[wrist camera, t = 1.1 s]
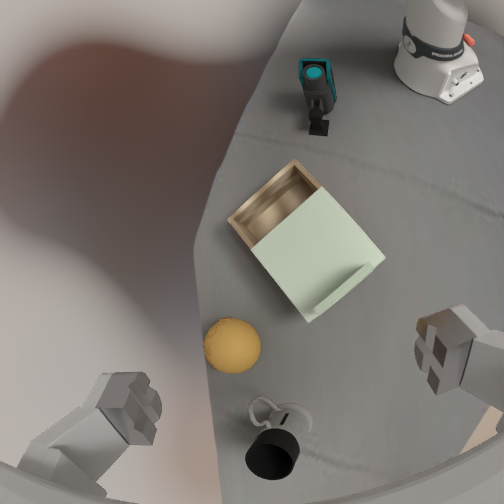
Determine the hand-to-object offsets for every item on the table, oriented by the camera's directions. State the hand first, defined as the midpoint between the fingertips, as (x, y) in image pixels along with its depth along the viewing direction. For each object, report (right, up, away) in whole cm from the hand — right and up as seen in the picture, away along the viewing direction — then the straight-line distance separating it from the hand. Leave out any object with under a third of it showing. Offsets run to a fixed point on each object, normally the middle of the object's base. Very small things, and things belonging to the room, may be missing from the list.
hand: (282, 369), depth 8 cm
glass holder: (+5, -27, +43) cm, 51 cm away
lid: (+9, +3, +36) cm, 37 cm away
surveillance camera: (+13, +31, +47) cm, 57 cm away
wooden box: (+7, +8, +46) cm, 47 cm away
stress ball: (-3, -13, +47) cm, 49 cm away
